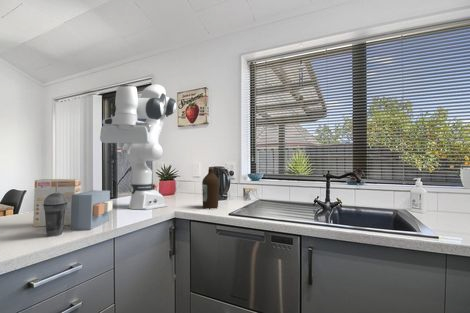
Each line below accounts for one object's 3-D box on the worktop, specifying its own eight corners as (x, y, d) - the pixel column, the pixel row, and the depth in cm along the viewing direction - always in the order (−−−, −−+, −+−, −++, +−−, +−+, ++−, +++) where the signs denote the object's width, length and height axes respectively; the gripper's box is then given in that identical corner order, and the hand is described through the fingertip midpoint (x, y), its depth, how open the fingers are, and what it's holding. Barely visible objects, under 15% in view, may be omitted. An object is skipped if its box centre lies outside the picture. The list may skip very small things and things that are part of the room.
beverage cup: (63, 230, 91) (65, 180, 91) (68, 234, 86) (70, 181, 86) (40, 234, 85) (41, 181, 86) (43, 239, 80) (45, 182, 81)
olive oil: (214, 205, 148) (215, 166, 148) (221, 208, 139) (222, 167, 139) (199, 206, 143) (200, 166, 143) (205, 209, 134) (206, 167, 134)
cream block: (112, 209, 105) (112, 201, 105) (107, 211, 101) (107, 202, 101) (99, 209, 105) (99, 200, 105) (93, 211, 101) (94, 202, 101)
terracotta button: (103, 213, 98) (104, 203, 98) (98, 215, 94) (98, 205, 94) (89, 213, 98) (90, 203, 98) (83, 215, 94) (84, 205, 94)
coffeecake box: (80, 221, 105) (81, 178, 105) (73, 225, 98) (75, 179, 99) (41, 222, 101) (43, 178, 102) (32, 227, 94) (34, 180, 95)
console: (109, 220, 106) (110, 190, 106) (90, 229, 92) (91, 195, 92) (91, 220, 106) (92, 190, 106) (70, 229, 92) (71, 194, 92)
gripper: (152, 123, 102) (152, 154, 102) (106, 122, 102) (105, 153, 101) (147, 121, 96) (146, 154, 95) (98, 120, 95) (97, 153, 95)
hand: (125, 153), depth 98 cm, fingers closed
